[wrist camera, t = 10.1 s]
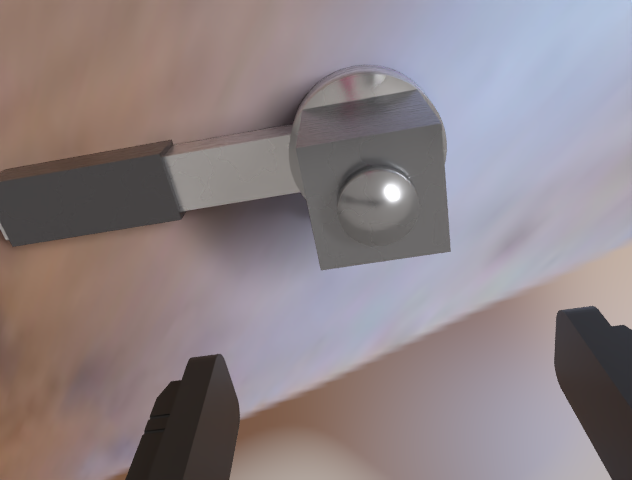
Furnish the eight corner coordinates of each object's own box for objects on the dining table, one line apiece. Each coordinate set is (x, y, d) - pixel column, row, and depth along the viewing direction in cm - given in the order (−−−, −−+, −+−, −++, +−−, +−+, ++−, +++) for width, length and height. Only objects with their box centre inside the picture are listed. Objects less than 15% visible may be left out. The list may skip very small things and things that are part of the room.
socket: (322, 212, 28) (320, 280, 22) (302, 109, 25) (294, 155, 19) (426, 195, 27) (454, 261, 21) (417, 89, 25) (445, 129, 19)
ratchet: (40, 258, 33) (-15, 315, 27) (-21, 135, 29) (-99, 174, 24) (442, 195, 30) (467, 244, 25) (431, 51, 26) (457, 73, 21)
